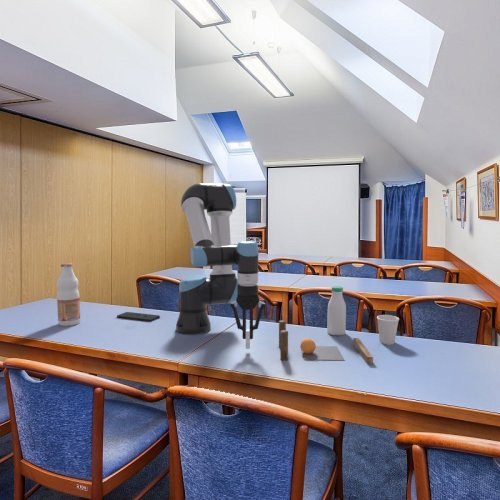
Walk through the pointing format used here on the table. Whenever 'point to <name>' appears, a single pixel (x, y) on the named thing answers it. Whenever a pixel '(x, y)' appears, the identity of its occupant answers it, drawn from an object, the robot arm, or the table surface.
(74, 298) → the fruit juice
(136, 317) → the smart home device
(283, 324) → the post
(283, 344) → the post
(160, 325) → the table surface
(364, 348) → the wall
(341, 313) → the milk bottle
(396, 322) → the dixie cup
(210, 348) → the table surface
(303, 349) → the ball
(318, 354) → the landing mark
